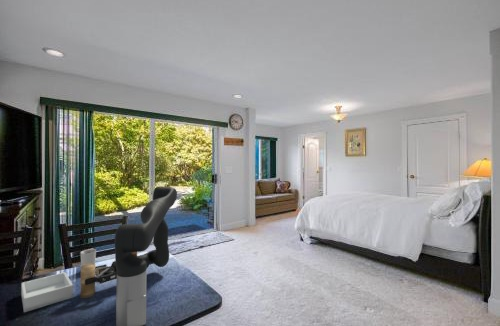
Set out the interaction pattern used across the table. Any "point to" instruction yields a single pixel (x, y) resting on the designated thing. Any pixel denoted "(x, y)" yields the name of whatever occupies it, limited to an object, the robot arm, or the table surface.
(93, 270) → the wooden cylinder
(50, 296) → the tote
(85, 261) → the drinking glass
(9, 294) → the table surface
